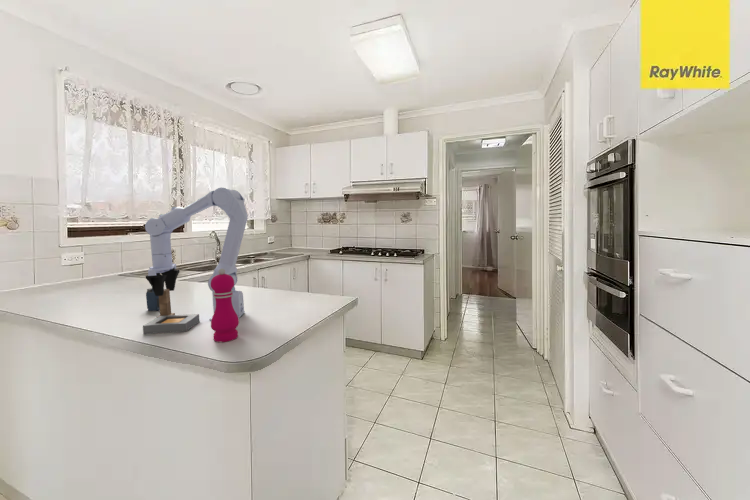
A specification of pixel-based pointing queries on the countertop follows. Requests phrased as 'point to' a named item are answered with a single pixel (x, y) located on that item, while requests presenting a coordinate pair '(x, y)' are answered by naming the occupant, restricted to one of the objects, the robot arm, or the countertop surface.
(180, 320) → the button
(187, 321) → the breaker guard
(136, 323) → the countertop surface
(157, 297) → the vaping device
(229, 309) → the pepper mill
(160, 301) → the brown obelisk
